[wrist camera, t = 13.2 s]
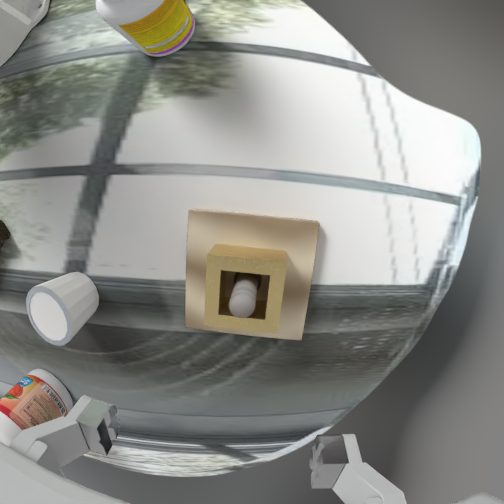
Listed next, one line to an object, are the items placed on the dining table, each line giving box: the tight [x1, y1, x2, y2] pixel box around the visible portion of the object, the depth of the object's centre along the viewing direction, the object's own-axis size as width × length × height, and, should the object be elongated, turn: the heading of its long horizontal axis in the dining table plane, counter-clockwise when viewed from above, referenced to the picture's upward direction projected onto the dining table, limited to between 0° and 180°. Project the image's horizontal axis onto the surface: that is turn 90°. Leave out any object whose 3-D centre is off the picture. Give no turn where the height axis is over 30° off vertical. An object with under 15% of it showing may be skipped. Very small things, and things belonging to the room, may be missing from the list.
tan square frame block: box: [204, 244, 287, 333], centre depth 27 cm, size 6×6×4 cm
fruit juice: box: [0, 369, 73, 447], centre depth 24 cm, size 9×9×28 cm
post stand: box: [185, 209, 320, 340], centre depth 26 cm, size 12×12×8 cm
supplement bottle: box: [96, 0, 195, 56], centre depth 19 cm, size 7×7×13 cm
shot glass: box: [26, 272, 99, 345], centre depth 29 cm, size 7×7×7 cm
